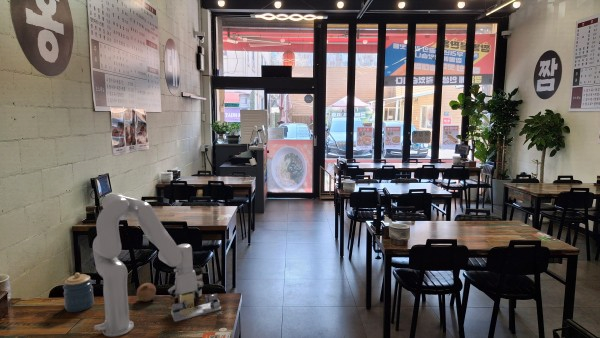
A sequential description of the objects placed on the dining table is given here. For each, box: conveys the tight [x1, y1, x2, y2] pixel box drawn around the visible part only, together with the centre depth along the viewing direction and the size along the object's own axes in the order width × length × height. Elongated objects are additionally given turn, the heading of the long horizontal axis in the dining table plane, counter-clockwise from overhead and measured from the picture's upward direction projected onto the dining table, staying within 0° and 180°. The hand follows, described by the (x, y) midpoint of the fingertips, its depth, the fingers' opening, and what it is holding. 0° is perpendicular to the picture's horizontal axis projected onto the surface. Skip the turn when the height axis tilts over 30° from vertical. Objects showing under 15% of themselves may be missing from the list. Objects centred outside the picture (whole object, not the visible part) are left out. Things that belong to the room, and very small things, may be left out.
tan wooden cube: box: [179, 292, 195, 308], centre depth 195 cm, size 6×6×7 cm
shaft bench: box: [170, 293, 222, 323], centre depth 189 cm, size 22×8×7 cm, turn 121°
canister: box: [62, 272, 95, 313], centre depth 196 cm, size 13×13×18 cm
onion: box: [136, 282, 157, 303], centre depth 202 cm, size 10×9×10 cm
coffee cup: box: [193, 265, 204, 299], centre depth 206 cm, size 8×8×15 cm
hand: (186, 302), depth 195 cm, fingers open, 9 cm apart
